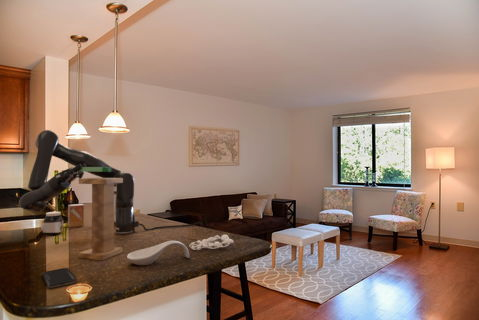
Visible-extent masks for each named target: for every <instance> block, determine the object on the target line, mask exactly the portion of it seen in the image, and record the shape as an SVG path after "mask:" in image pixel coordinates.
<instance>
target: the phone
mask: <svg viewBox="0 0 479 320" xmlns="http://www.w3.org/2000/svg"><path fill="white" fill-rule="evenodd" d="M42 278H43V280H44V281H45V284H46V286H47V288H49V289H54V288H55V289H56V288H59V287H63V286H69V285H73V284H76V283H77V278H76V276H75V275H74V274H73V272H72V271H71V270H70V268H69V267H62V268H58V269H57V268H56V269H51V270H47V271H43V272H42Z"/></svg>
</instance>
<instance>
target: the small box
mask: <svg viewBox="0 0 479 320" xmlns="http://www.w3.org/2000/svg"><path fill="white" fill-rule="evenodd" d="M67 226H68V228H77V227H85V204H83V203H76V204H75V203H73V204H68V205H67Z"/></svg>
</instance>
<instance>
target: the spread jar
mask: <svg viewBox="0 0 479 320" xmlns="http://www.w3.org/2000/svg"><path fill="white" fill-rule="evenodd" d="M61 213H62V212H61V211H50V212H49V211H48V212H45V217H44V219H43V221H42V225H41V227H40V230H41V231H42V232H43V234H44V235H45V236H50V237H51V236H58V235H61V234H62V232H63V231H64V217H63V216H62V215H61Z"/></svg>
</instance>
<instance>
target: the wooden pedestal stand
mask: <svg viewBox="0 0 479 320" xmlns="http://www.w3.org/2000/svg"><path fill="white" fill-rule="evenodd" d="M115 183H123V178H102V177H88V178H81V179H79V178H78V184H79V185H91V248H89V249H85V250H83V251H80V252H78V258H79V259H80V258H81V259H87V260H96V261H104V260H108V259H109V258H112V257H115V256H117V255H119V254H122V253H123V251H124V250H123V248H124V247H120V246H119V247H118V246H115V223H114V184H115Z"/></svg>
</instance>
